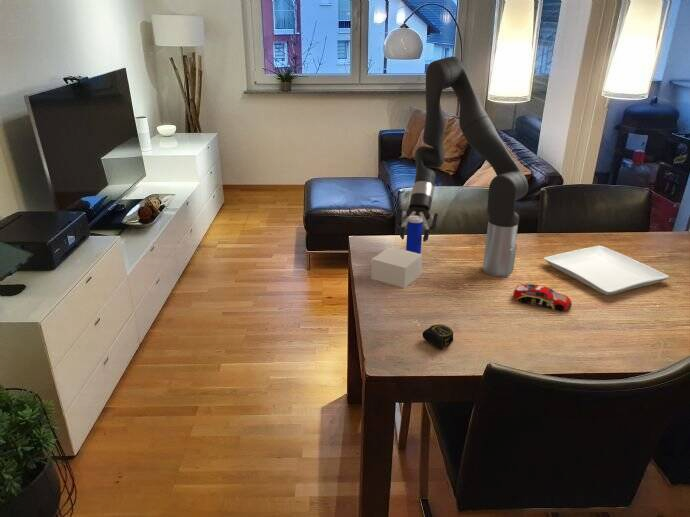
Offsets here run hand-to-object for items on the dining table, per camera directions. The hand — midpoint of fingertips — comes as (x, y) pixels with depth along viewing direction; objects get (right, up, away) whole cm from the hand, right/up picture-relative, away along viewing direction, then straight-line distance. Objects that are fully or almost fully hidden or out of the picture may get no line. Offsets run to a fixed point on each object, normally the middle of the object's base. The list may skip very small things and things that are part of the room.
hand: (413, 239), depth 180 cm
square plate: (+61, -12, -7) cm, 63 cm away
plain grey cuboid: (-7, -12, -9) cm, 16 cm away
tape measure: (+1, -29, -44) cm, 52 cm away
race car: (+35, -20, -24) cm, 47 cm away
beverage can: (0, -6, +4) cm, 8 cm away
